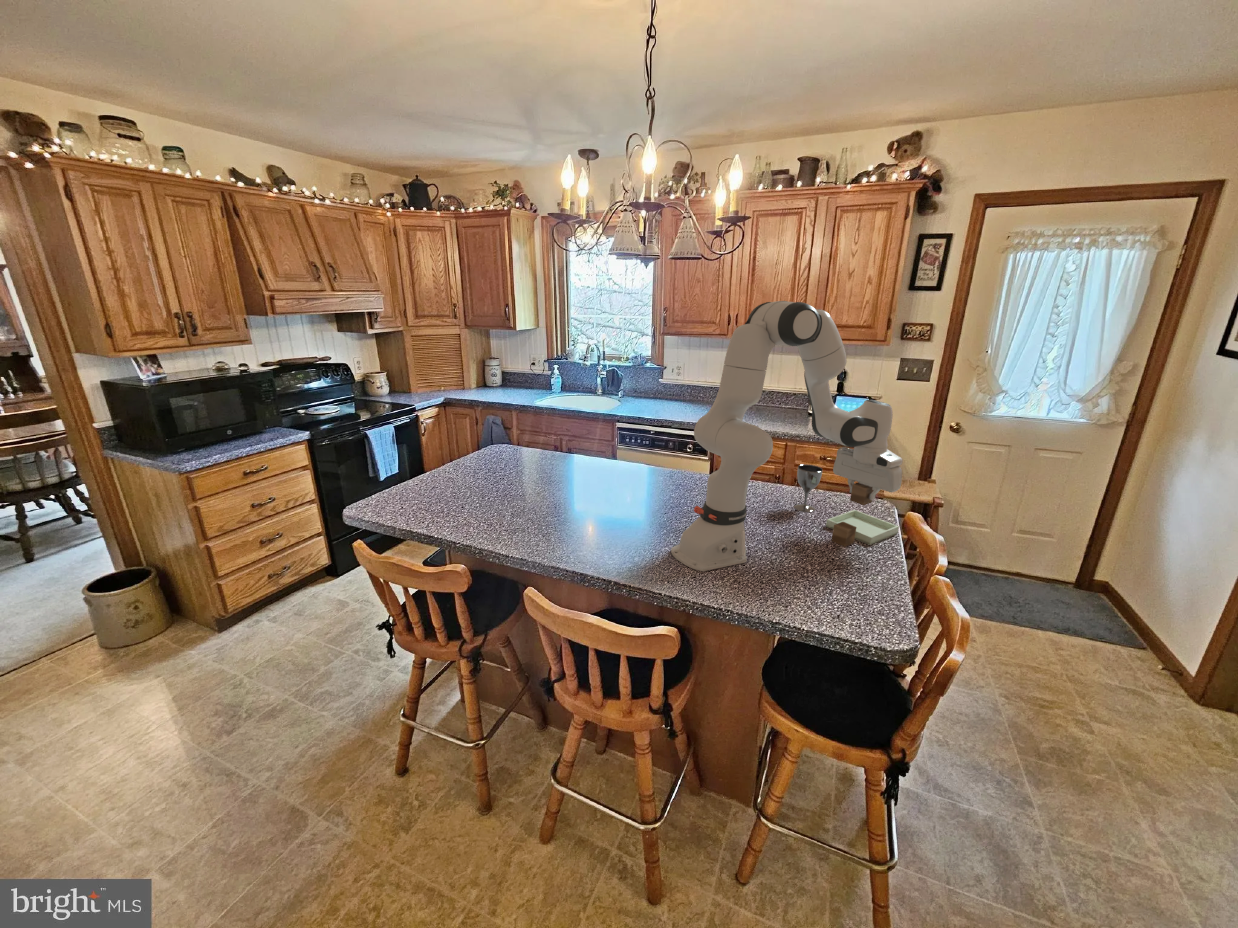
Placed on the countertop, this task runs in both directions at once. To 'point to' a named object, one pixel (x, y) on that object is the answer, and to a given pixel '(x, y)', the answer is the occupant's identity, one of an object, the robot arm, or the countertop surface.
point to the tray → (865, 526)
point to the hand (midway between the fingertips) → (861, 496)
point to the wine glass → (808, 483)
